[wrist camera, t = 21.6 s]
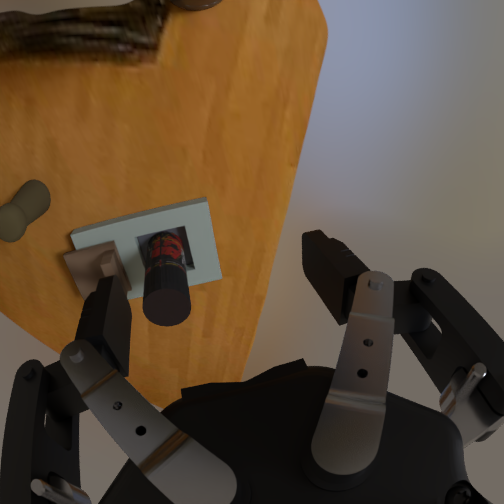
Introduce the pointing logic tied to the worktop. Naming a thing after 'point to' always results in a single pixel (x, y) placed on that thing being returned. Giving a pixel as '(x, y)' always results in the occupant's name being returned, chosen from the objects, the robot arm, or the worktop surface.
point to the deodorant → (166, 281)
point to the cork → (23, 210)
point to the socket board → (148, 224)
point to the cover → (96, 267)
